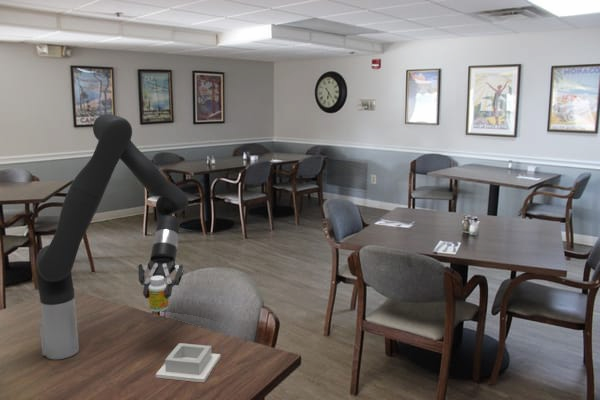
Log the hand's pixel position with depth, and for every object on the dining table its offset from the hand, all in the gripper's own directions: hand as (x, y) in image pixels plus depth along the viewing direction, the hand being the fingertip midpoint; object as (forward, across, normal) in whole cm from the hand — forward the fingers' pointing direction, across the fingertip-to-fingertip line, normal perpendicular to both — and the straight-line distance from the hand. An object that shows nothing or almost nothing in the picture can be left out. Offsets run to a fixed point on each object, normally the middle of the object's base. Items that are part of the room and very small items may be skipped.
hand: (156, 297), depth 151 cm
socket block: (+18, +11, +7) cm, 22 cm away
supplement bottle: (+2, 0, +4) cm, 5 cm away
